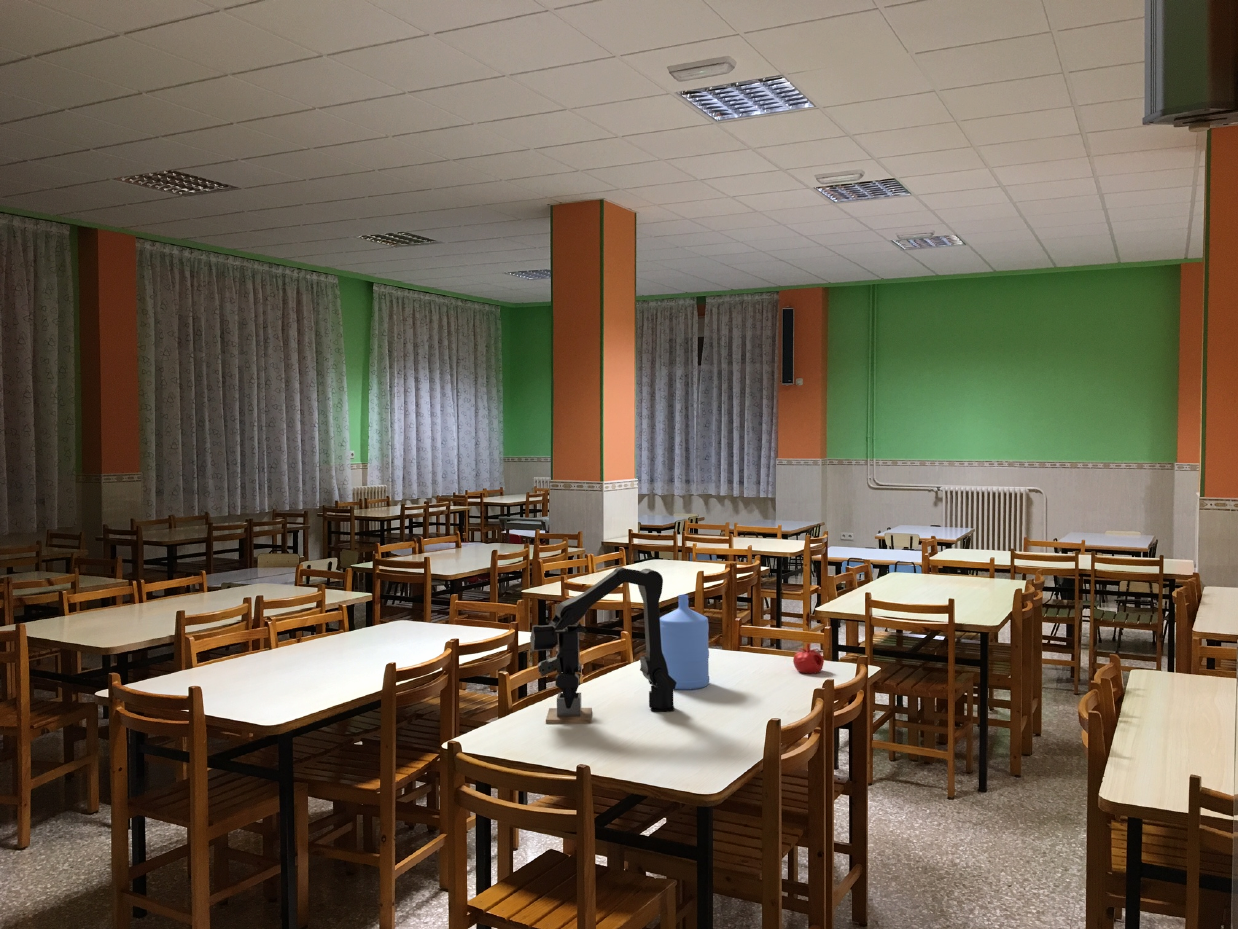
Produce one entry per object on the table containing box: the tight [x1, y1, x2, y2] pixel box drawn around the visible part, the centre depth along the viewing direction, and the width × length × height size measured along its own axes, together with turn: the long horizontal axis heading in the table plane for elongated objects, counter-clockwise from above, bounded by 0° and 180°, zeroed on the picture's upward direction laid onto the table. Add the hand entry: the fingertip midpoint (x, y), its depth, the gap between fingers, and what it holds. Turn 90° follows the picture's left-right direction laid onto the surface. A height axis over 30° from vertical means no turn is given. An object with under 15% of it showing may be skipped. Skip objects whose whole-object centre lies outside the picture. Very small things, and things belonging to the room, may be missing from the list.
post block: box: [545, 707, 593, 724], centre depth 269 cm, size 12×12×5 cm
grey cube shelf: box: [556, 692, 582, 717], centre depth 269 cm, size 6×6×5 cm
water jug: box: [660, 594, 710, 691], centre depth 305 cm, size 16×16×28 cm
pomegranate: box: [792, 643, 825, 674], centre depth 321 cm, size 10×10×9 cm
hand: (569, 704), depth 269 cm, fingers open, 8 cm apart
